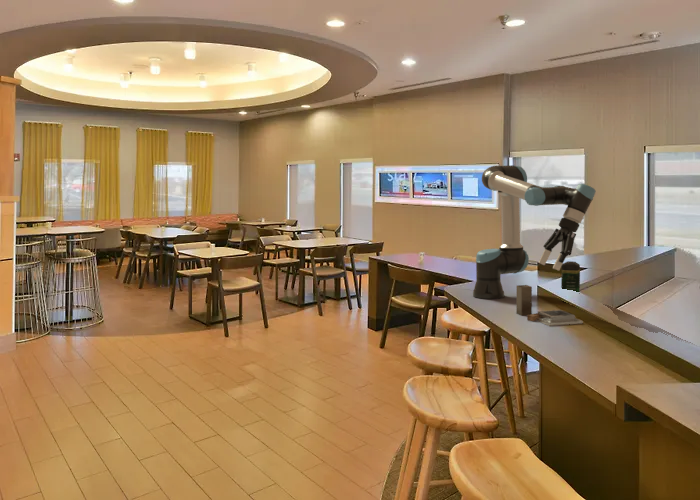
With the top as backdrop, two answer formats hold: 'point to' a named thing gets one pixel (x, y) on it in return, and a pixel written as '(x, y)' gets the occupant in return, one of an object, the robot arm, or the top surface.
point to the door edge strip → (533, 317)
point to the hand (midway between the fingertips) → (548, 266)
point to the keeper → (557, 318)
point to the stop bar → (524, 300)
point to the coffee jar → (570, 276)
